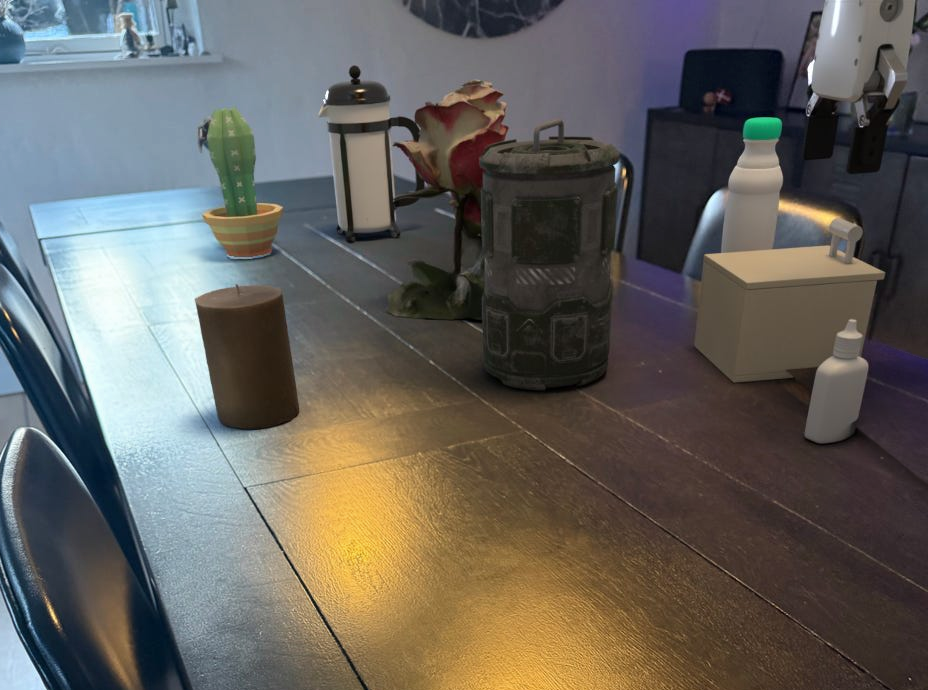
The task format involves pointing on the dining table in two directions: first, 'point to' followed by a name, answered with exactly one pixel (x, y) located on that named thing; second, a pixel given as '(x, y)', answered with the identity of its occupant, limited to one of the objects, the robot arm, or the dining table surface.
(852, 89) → the robot arm
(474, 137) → the red and cream rose
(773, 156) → the water bottle
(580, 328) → the canister
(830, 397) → the eye dropper bottle
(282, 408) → the pillar candle
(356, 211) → the coffee press
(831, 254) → the lid
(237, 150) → the potted cactus
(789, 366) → the beige open box
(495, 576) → the dining table surface
